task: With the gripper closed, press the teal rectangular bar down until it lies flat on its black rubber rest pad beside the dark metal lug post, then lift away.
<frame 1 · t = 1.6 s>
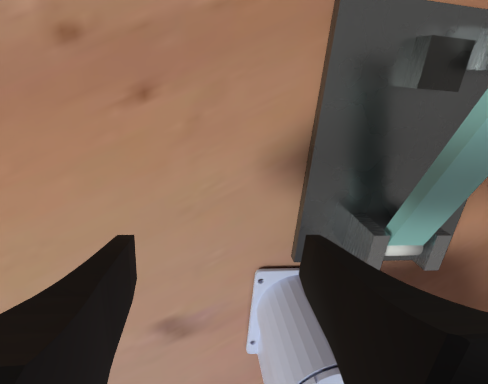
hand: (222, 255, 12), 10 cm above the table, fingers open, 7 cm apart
teal rectangular bar: (451, 179, 18), point 5 cm above the table, hinge at 22.0°
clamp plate: (396, 150, 23), on the table
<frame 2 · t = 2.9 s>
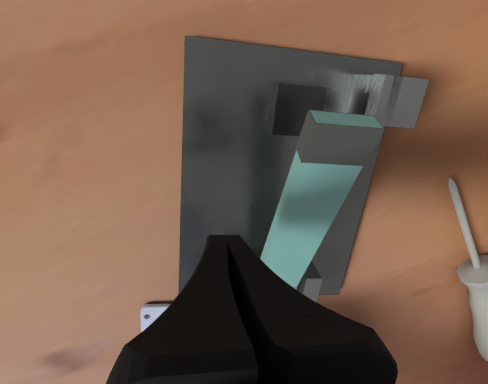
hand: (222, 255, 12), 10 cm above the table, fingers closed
teal rectangular bar: (298, 229, 18), point 5 cm above the table, hinge at 22.0°
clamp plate: (276, 189, 22), on the table
screwdriver: (466, 272, 30), on the table
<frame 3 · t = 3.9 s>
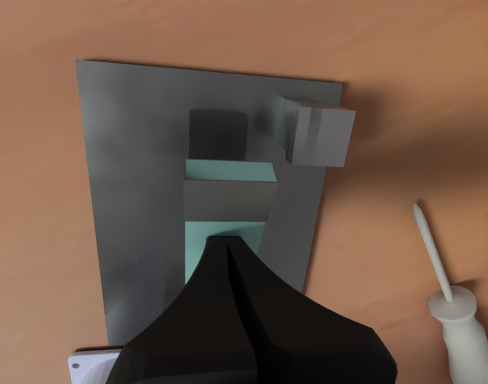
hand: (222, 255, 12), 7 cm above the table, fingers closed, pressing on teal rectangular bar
teal rectangular bar: (215, 283, 15), point 5 cm above the table, hinge at 21.6°, touching gripper
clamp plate: (211, 225, 20), on the table
screwdriver: (440, 302, 27), on the table
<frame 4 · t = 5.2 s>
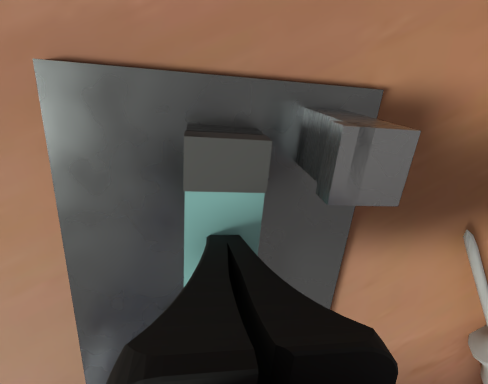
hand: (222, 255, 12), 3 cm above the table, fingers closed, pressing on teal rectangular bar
teal rectangular bar: (217, 298, 13), point 3 cm above the table, hinge at -0.9°, touching gripper
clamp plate: (213, 262, 16), on the table
screwdriver: (479, 339, 23), on the table
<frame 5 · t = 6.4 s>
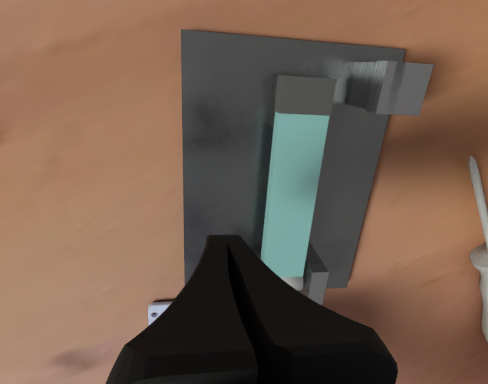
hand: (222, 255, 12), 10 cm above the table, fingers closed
teal rectangular bar: (290, 197, 19), point 3 cm above the table, hinge at -0.9°
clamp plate: (279, 183, 22), on the table
screwdriver: (478, 259, 29), on the table
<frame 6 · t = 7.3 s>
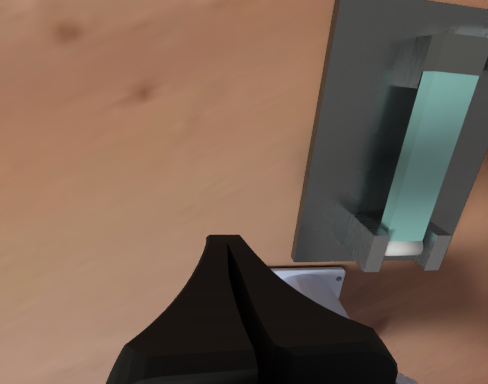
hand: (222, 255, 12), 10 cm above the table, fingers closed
teal rectangular bar: (424, 159, 20), point 3 cm above the table, hinge at -0.9°
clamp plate: (397, 150, 23), on the table
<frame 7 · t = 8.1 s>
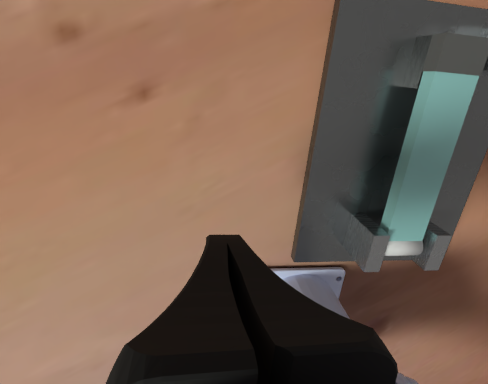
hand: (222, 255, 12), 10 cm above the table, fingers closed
teal rectangular bar: (424, 159, 20), point 3 cm above the table, hinge at -0.9°
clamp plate: (397, 150, 23), on the table
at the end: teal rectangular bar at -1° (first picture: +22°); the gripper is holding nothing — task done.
